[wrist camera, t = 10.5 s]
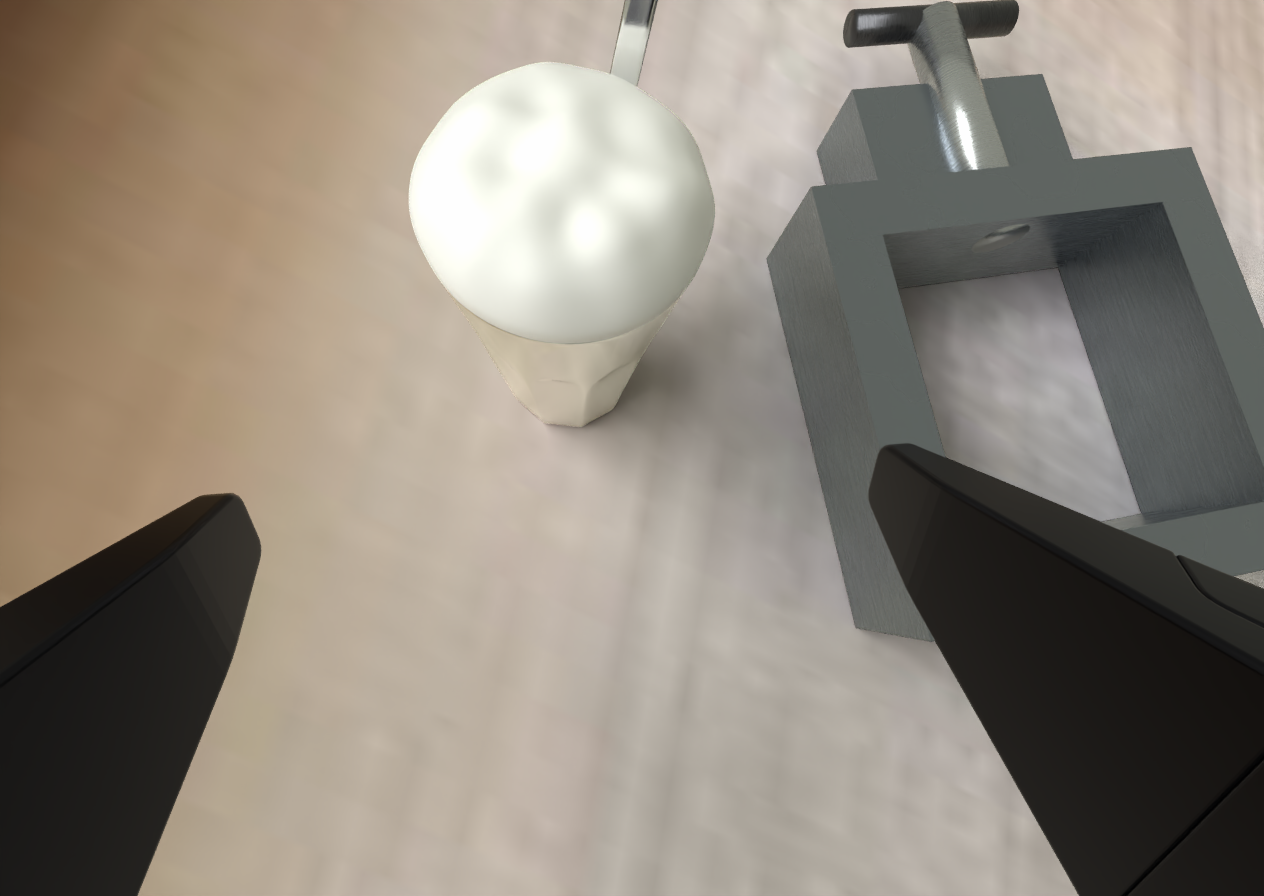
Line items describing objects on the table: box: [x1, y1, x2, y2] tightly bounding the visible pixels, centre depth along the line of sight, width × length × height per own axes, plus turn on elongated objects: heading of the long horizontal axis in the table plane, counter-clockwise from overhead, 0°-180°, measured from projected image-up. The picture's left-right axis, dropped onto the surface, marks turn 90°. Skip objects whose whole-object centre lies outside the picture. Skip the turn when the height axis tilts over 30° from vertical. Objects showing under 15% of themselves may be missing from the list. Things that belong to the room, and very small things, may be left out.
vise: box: [767, 0, 1264, 642], centre depth 17 cm, size 17×11×4 cm, turn 10°
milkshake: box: [409, 0, 715, 427], centre depth 12 cm, size 4×5×10 cm
